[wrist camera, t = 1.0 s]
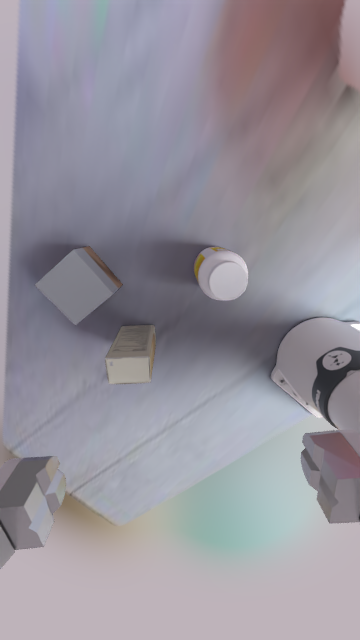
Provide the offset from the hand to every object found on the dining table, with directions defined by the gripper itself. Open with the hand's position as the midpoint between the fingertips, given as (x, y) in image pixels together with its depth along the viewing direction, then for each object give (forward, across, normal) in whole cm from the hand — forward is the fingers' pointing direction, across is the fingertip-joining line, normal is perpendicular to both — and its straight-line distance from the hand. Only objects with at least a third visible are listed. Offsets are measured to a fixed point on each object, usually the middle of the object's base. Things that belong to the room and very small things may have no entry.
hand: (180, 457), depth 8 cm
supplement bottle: (+36, -6, 0) cm, 36 cm away
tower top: (+33, +15, 0) cm, 36 cm away
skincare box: (+36, +8, +11) cm, 38 cm away
